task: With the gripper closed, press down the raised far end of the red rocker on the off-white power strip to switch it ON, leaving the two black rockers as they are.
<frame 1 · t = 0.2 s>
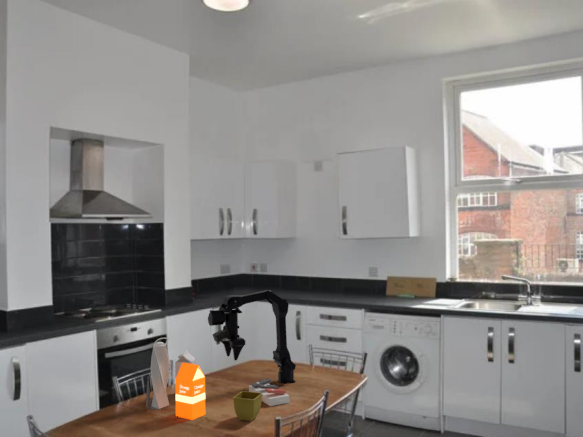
hand: (231, 358, 240), 14 cm above the table, tool pointing down, fingers open, 9 cm apart
rocker middle: (268, 386, 229), point 5 cm above the table, hinge at -10.0°
skyscraper: (159, 407, 219), on the table
orange juice: (190, 415, 208), on the table
rocker red: (275, 390, 223), point 5 cm above the table, hinge at -10.0°
milk carton: (185, 395, 234), on the table
flower pot: (248, 419, 203), on the table
rocker near: (261, 382, 235), point 5 cm above the table, hinge at 10.0°
power strip: (268, 397, 229), on the table
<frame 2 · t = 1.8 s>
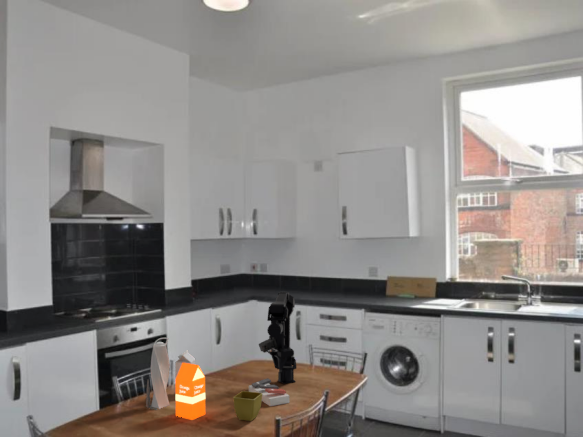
hand: (278, 369, 229), 12 cm above the table, tool pointing down, fingers open, 4 cm apart
nothing on the table moved.
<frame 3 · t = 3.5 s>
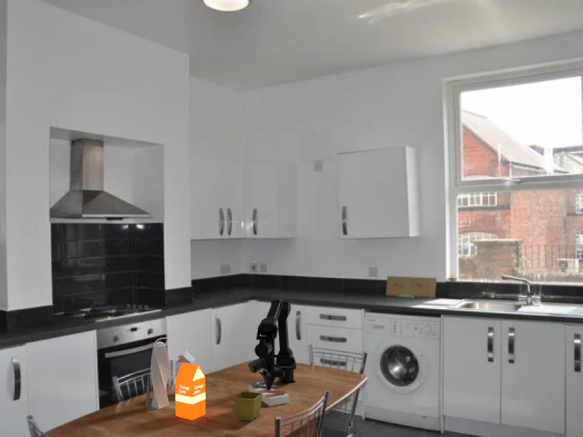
hand: (268, 389, 221), 5 cm above the table, tool pointing down, fingers closed, pressing on rocker red
rocker red: (275, 390, 223), point 5 cm above the table, hinge at -10.0°, touching gripper
everything else where it was.
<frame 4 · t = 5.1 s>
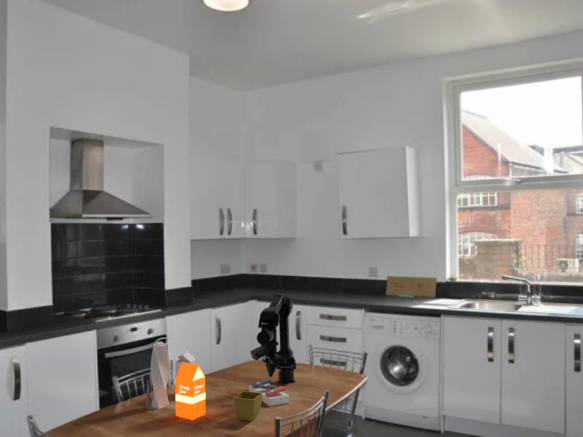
hand: (270, 376, 225), 10 cm above the table, tool pointing down, fingers closed
rocker red: (275, 391, 223), point 5 cm above the table, hinge at 10.4°
everything else where it was.
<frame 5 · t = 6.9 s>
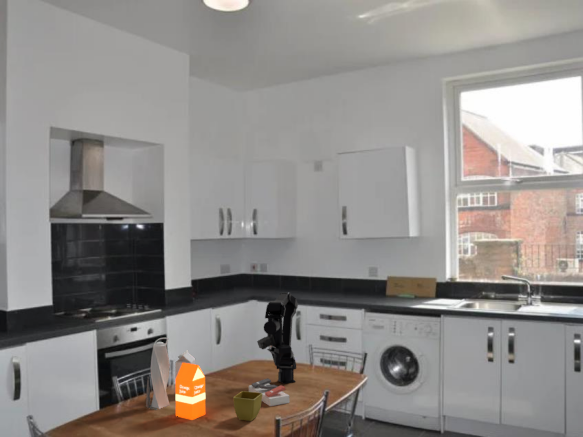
hand: (276, 365, 235), 12 cm above the table, tool pointing down, fingers closed
rocker red: (275, 391, 223), point 5 cm above the table, hinge at 15.2°, touching power strip
everything else where it was.
at the end: rocker red at +15° (first picture: -10°); rocker middle at -10° (first picture: -10°); rocker near at +10° (first picture: +10°) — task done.
